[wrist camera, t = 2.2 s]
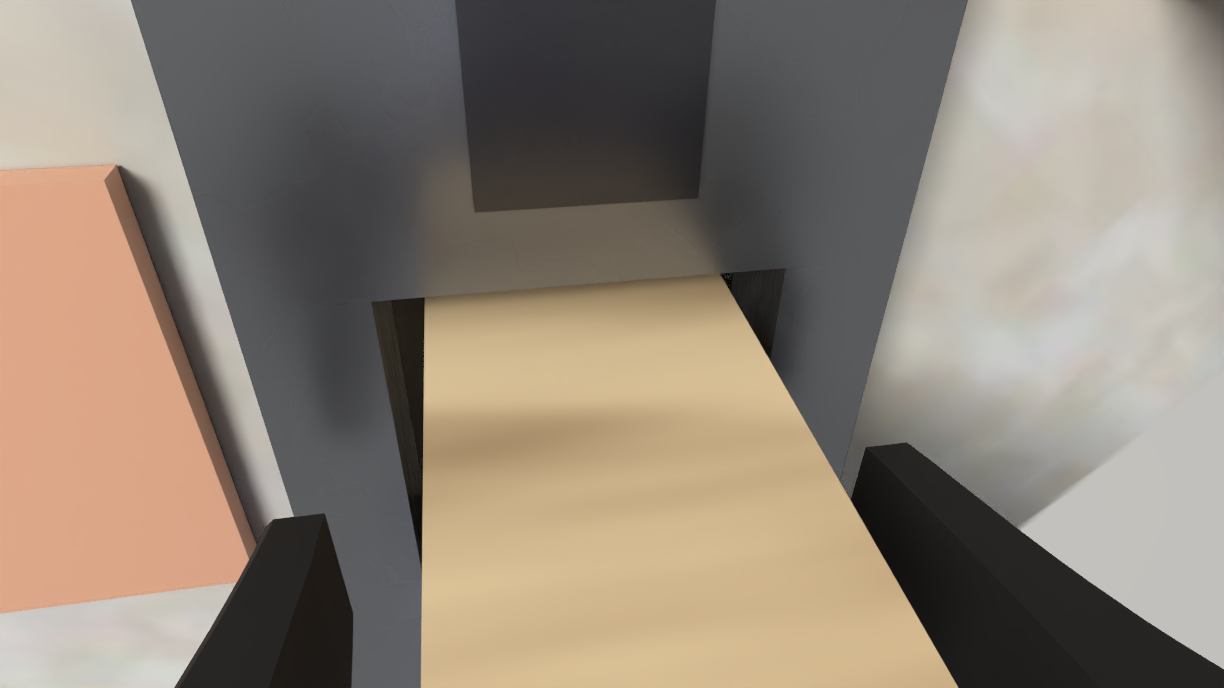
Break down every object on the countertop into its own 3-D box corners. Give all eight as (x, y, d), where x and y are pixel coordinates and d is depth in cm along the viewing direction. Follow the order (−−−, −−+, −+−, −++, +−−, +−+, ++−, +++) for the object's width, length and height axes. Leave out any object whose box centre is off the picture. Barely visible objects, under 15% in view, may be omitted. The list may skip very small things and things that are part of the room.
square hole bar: (756, 607, 19) (787, 686, 17) (374, 665, 18) (368, 758, 16) (920, -186, 10) (1020, -177, 8) (138, -200, 8) (64, -192, 7)
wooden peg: (681, 439, 15) (857, 907, 9) (452, 465, 15) (470, 993, 8) (700, 239, 13) (965, 699, 6) (425, 260, 12) (420, 796, 6)
